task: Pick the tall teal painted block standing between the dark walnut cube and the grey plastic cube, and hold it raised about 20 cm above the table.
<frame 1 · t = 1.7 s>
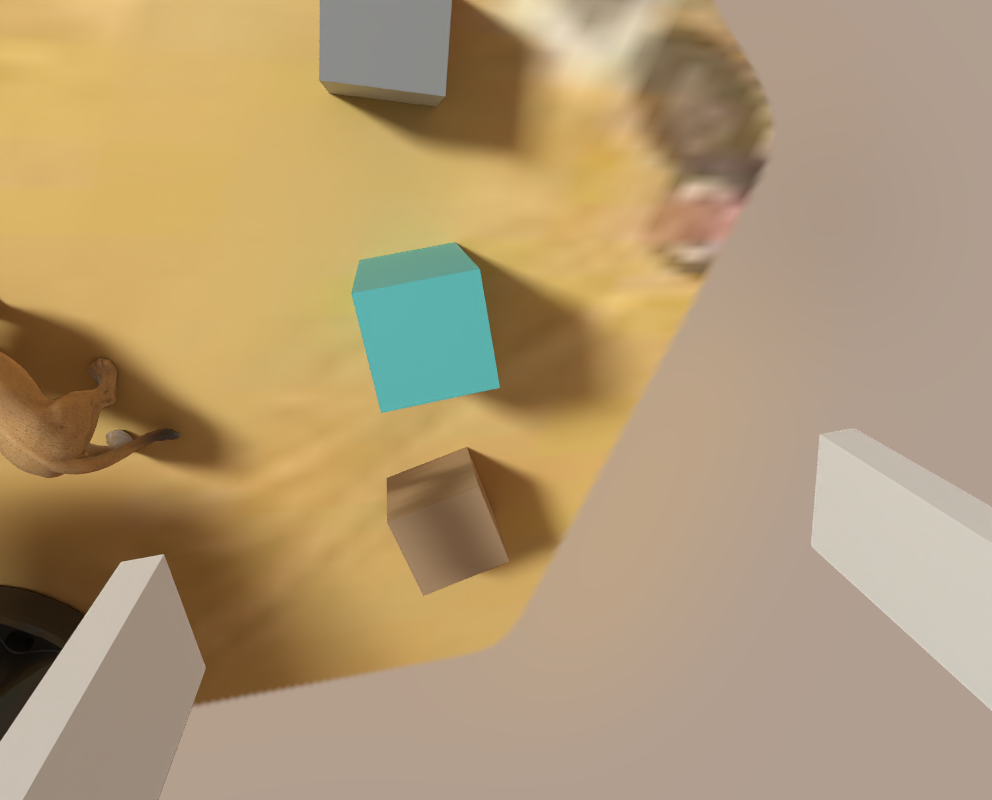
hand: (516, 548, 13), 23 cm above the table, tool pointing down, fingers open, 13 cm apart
walnut block: (442, 496, 38), on the table
grey block: (385, 41, 29), on the table
lion figurine: (28, 363, 32), on the table
teal block: (417, 298, 34), on the table
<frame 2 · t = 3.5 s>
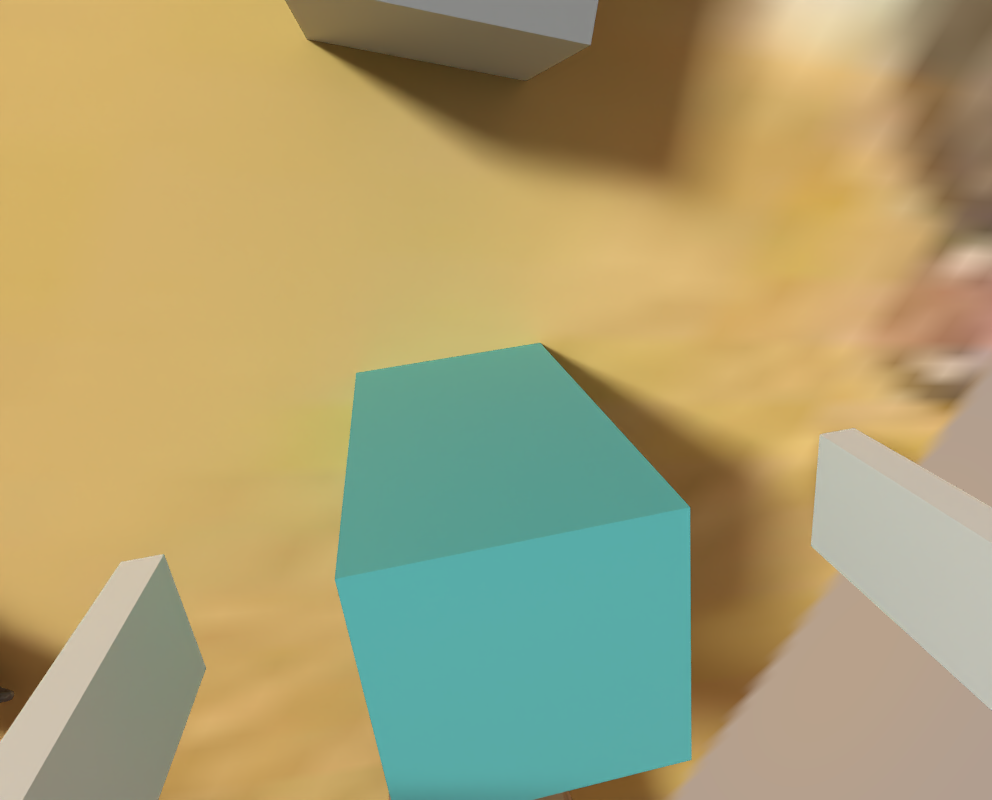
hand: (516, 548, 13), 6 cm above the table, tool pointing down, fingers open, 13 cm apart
teal block: (462, 441, 18), on the table
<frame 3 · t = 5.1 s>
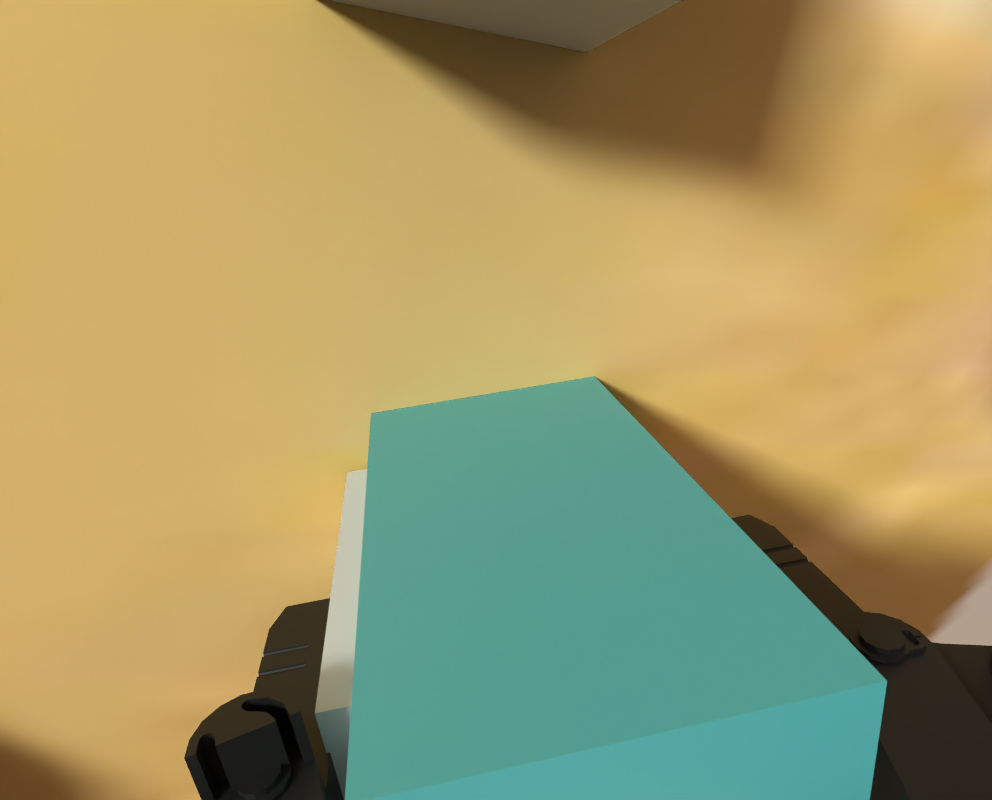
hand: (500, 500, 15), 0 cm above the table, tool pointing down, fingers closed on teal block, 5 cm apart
teal block: (497, 493, 15), on the table, touching gripper
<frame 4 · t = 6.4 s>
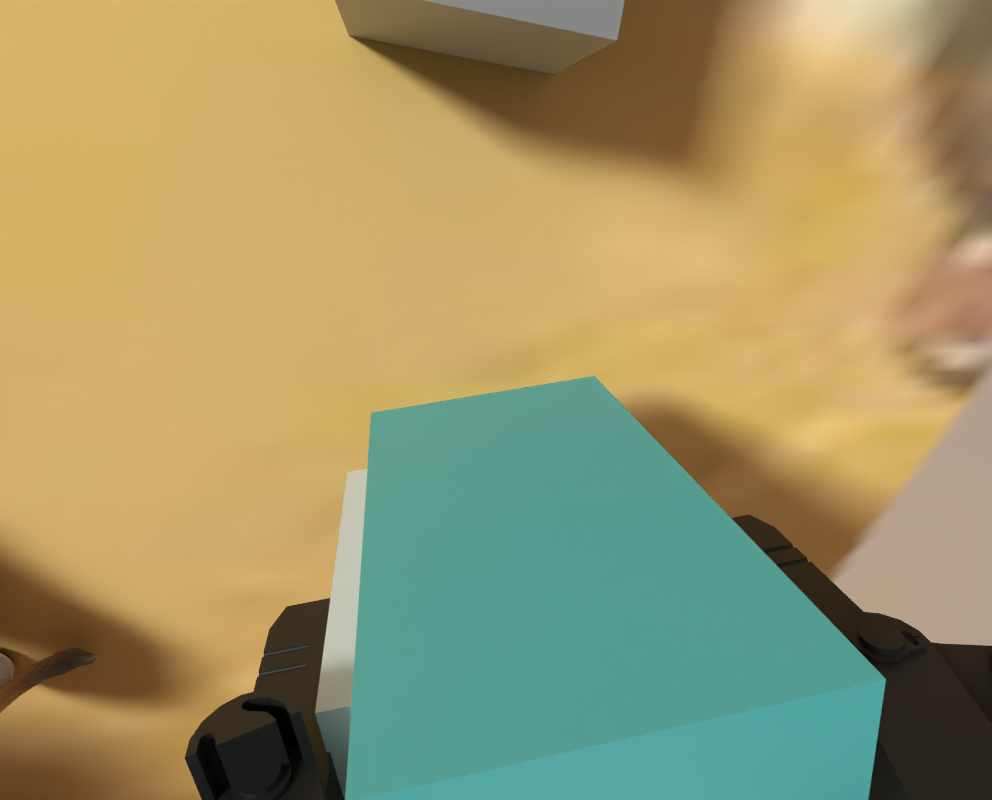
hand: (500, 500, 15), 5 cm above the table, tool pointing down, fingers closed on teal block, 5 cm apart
teal block: (497, 492, 15), point 4 cm above the table, touching gripper
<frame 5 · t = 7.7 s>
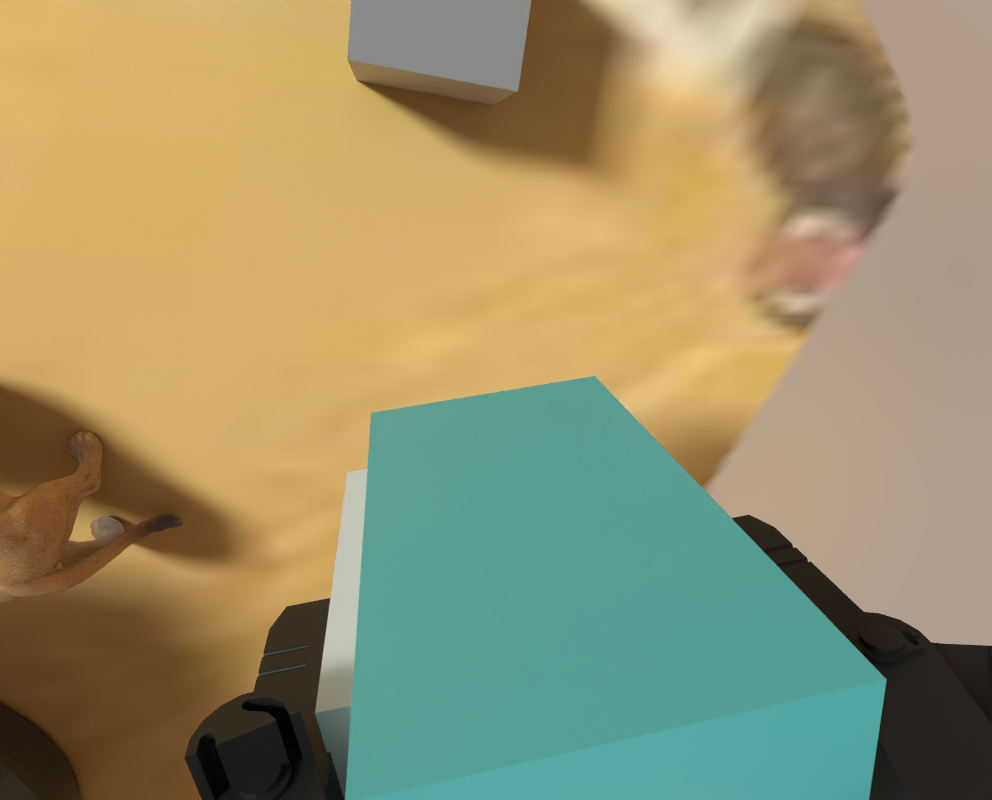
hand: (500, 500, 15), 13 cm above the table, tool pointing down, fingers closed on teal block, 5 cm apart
grey block: (434, 15, 22), on the table
teal block: (497, 492, 15), point 13 cm above the table, touching gripper
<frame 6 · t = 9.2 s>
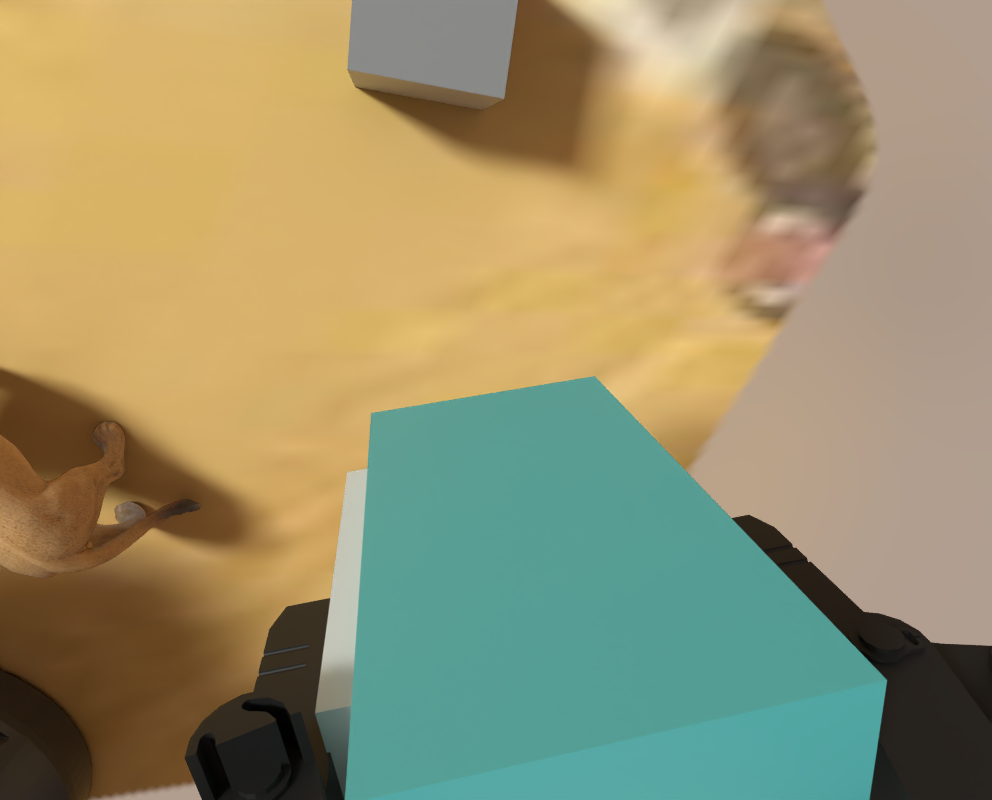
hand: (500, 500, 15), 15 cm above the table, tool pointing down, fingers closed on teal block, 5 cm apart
grey block: (427, 27, 24), on the table
lion figurine: (21, 429, 27), on the table
teal block: (497, 493, 15), point 14 cm above the table, touching gripper
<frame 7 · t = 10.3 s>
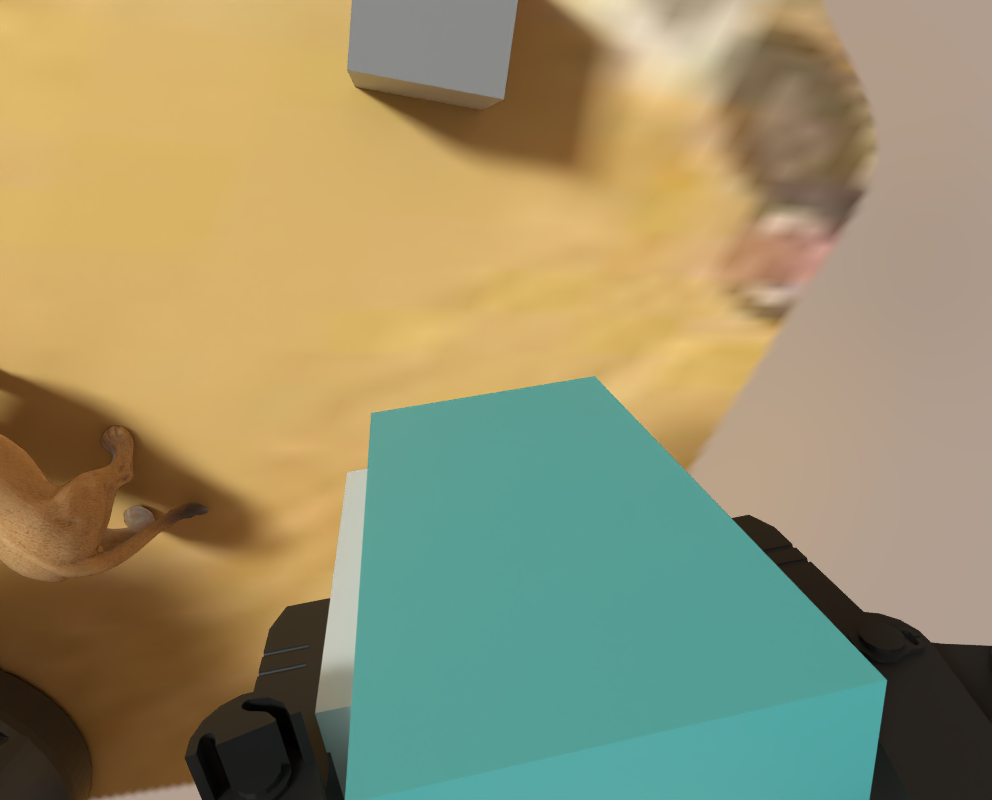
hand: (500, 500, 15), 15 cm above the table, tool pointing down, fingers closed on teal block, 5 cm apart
grey block: (427, 27, 24), on the table
lion figurine: (30, 434, 27), on the table
teal block: (497, 493, 15), point 14 cm above the table, touching gripper
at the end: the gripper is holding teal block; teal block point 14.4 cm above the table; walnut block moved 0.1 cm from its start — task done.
